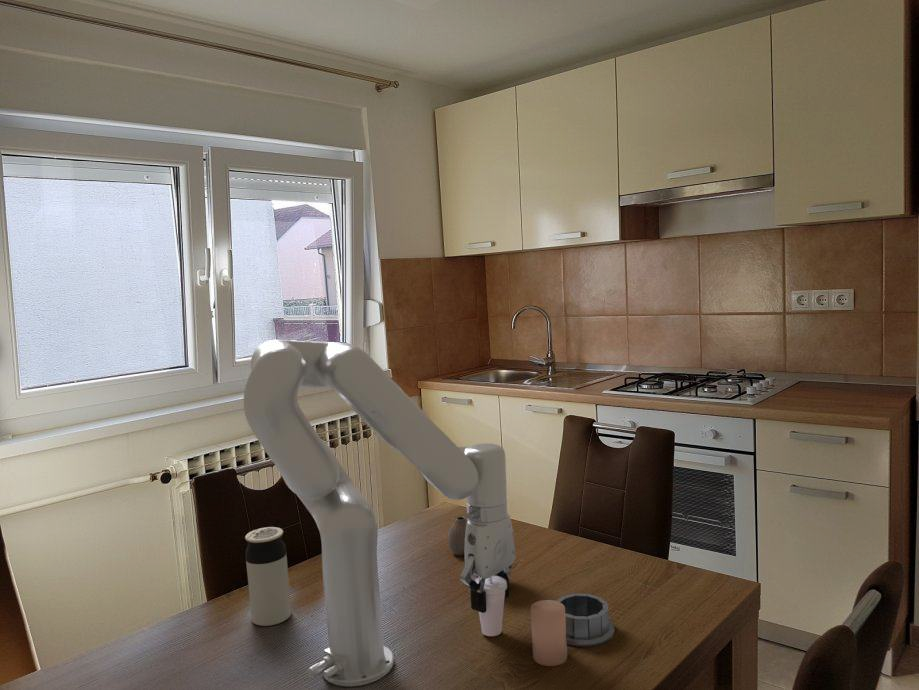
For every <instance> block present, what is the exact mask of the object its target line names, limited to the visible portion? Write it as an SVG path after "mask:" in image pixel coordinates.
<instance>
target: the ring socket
mask: <svg viewBox="0 0 919 690" xmlns="http://www.w3.org/2000/svg"><path fill="white" fill-rule="evenodd" d="M555 601H558V602H560V603H562V604H563V605H564V606H565V619H566V641H567V646H570V647H579V648H590V647H591V648H592V647H598V646H602V645H604V644H606V643H607V642H610V640H612V639H613V638H614V636H615V632H616V631H615V628H616V627H615V624H614V622H613V621H612V620H611V619H610V617H609V616H610V615H609V603H608V602H607V601H606V600H605V599H603V598H602V597H600V596H597V595H594V594H590V593H571V594H565V595H562V596H560V597H559V598H558V599H556V600H555Z"/></svg>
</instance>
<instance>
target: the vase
mask: <svg viewBox="0 0 919 690" xmlns="http://www.w3.org/2000/svg"><path fill="white" fill-rule="evenodd" d="M467 521H468V520H467V517H465V516H457V517H456V518H455V519H454V522H453V524H452V525H451V526H450V527H449V530H448V533H447V543H448V547H449V549H450V550H451V552H452V553H453V554H454V555H456V556H459V557H463V556H464V557H465V533H466V524H467Z"/></svg>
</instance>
